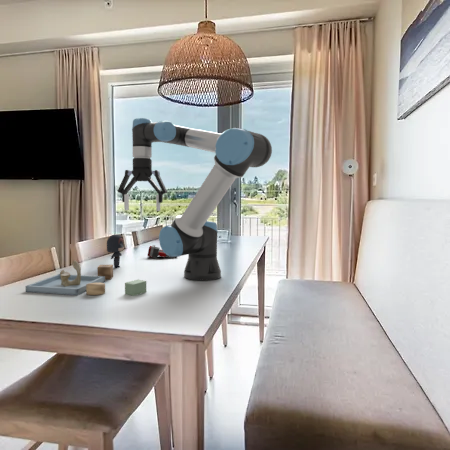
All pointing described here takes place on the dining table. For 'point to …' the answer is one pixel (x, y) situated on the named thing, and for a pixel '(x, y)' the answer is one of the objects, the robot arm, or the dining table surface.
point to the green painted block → (135, 287)
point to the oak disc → (95, 288)
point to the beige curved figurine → (66, 275)
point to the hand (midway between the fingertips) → (142, 210)
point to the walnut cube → (105, 271)
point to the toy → (115, 248)
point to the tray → (55, 285)
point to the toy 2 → (157, 252)
